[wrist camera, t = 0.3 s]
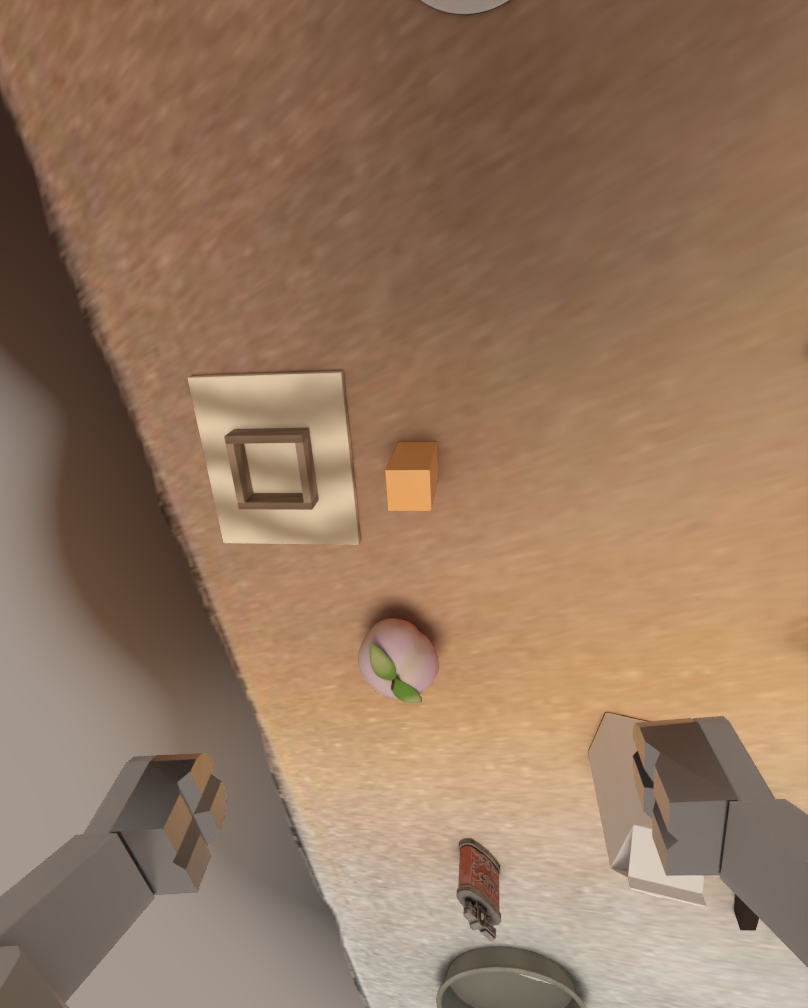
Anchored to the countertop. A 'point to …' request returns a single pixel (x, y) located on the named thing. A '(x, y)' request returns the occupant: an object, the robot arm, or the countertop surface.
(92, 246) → the countertop surface
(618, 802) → the milk carton
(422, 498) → the orange cap block
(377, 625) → the decorative fruit
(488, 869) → the lighter
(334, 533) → the socket board
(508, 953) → the cake pan
